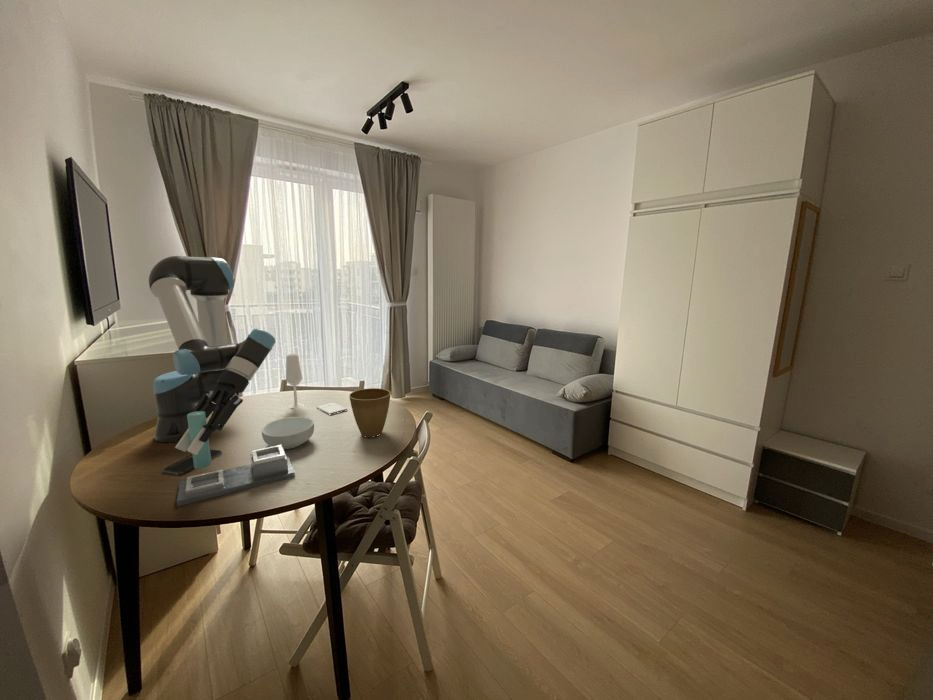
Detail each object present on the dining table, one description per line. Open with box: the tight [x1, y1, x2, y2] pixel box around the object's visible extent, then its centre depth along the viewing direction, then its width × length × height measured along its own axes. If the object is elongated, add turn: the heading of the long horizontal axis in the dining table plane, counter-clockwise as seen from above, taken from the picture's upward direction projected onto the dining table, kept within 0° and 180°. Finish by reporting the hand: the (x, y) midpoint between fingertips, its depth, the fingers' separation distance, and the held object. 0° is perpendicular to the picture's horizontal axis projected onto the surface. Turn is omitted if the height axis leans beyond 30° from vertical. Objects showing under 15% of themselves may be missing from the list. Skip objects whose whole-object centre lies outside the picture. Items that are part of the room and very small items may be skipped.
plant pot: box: [348, 387, 391, 438], centre depth 142 cm, size 15×15×16 cm
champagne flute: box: [285, 353, 305, 409], centre depth 169 cm, size 7×7×24 cm
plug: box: [187, 411, 213, 470], centre depth 103 cm, size 4×4×15 cm
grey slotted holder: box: [176, 445, 296, 507], centre depth 109 cm, size 28×12×7 cm, turn 123°
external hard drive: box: [316, 402, 348, 415], centre depth 169 cm, size 2×8×12 cm
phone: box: [162, 448, 223, 476], centre depth 120 cm, size 8×1×15 cm
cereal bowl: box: [261, 416, 315, 450], centre depth 133 cm, size 17×17×7 cm
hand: (185, 451), depth 100 cm, fingers closed on plug, 4 cm apart
